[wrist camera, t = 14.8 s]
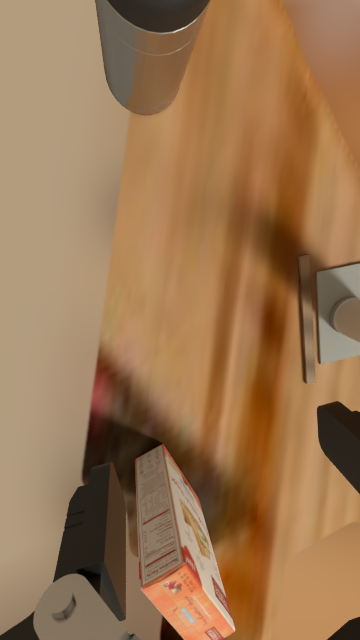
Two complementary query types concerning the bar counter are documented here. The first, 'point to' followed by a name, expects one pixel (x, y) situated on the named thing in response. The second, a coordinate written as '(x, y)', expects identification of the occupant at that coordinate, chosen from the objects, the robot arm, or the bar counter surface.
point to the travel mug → (347, 317)
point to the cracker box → (177, 551)
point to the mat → (329, 291)
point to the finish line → (307, 317)
